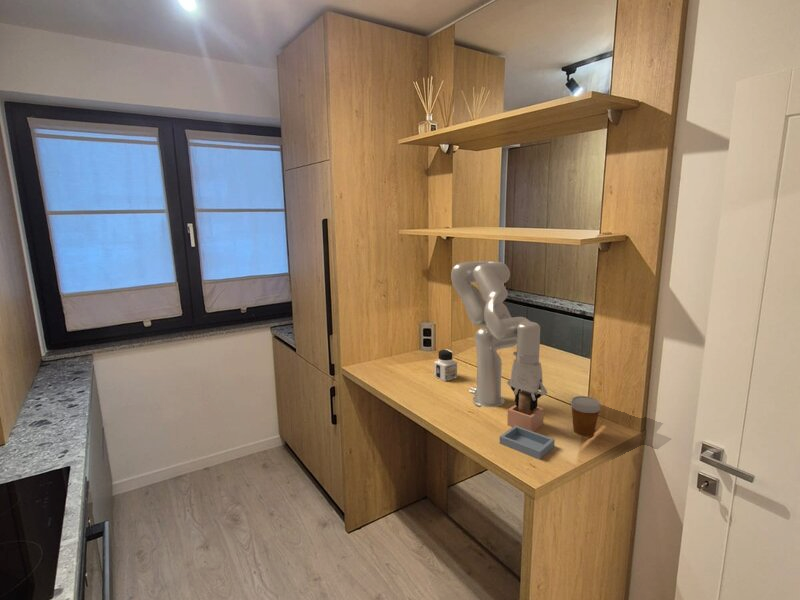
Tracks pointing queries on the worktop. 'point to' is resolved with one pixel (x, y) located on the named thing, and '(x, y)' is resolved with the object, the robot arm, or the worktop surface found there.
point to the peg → (525, 402)
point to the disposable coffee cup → (585, 415)
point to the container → (445, 366)
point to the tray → (527, 442)
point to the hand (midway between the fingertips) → (525, 406)
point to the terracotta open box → (525, 418)
